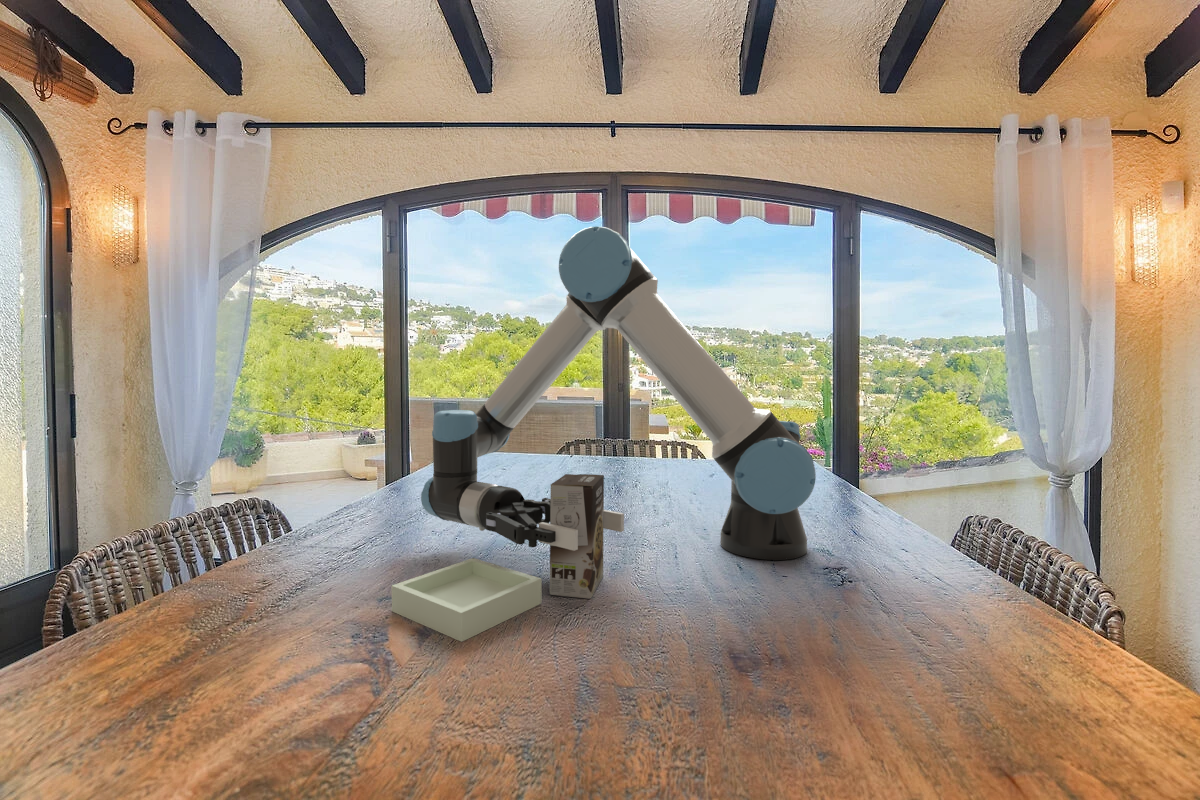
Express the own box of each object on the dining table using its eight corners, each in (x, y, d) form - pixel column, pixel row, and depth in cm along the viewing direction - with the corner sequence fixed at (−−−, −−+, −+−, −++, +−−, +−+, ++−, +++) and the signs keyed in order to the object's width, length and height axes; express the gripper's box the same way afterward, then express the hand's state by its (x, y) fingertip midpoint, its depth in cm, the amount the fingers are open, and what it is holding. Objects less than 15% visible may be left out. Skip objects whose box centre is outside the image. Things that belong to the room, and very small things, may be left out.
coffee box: (592, 599, 81) (593, 485, 80) (548, 595, 83) (548, 483, 82) (604, 576, 90) (605, 473, 89) (564, 573, 91) (565, 472, 91)
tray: (541, 603, 80) (541, 578, 80) (461, 641, 69) (461, 612, 69) (473, 580, 88) (473, 557, 88) (391, 611, 77) (391, 585, 77)
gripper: (540, 515, 106) (643, 537, 93) (437, 547, 88) (547, 580, 74) (540, 475, 106) (643, 491, 92) (436, 497, 87) (547, 522, 74)
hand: (600, 531), depth 83 cm, fingers closed on coffee box, 10 cm apart
